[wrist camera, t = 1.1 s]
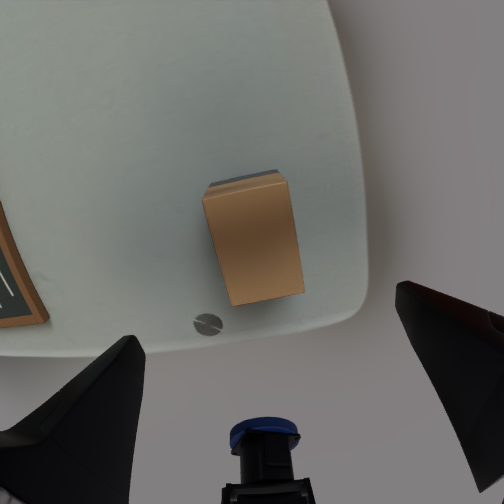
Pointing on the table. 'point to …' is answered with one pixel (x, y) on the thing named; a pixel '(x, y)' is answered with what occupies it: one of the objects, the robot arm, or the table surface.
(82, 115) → the table surface
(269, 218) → the eraser
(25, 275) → the chalkboard
